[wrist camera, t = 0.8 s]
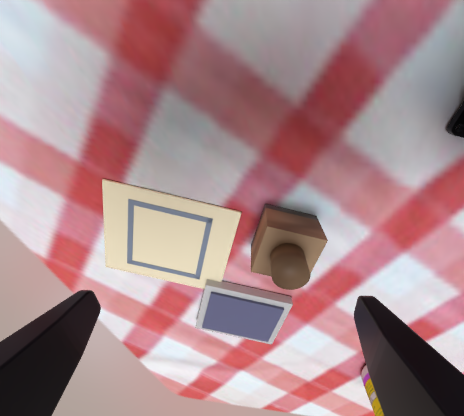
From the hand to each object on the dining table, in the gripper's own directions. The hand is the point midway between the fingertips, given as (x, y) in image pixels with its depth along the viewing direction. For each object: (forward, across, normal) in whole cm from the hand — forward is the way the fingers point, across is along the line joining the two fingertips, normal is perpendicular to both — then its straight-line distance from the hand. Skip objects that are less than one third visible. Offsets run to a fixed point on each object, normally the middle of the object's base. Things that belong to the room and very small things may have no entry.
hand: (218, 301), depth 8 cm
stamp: (+13, -3, +6) cm, 14 cm away
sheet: (+12, +7, +6) cm, 16 cm away
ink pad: (+12, +1, +16) cm, 20 cm away
